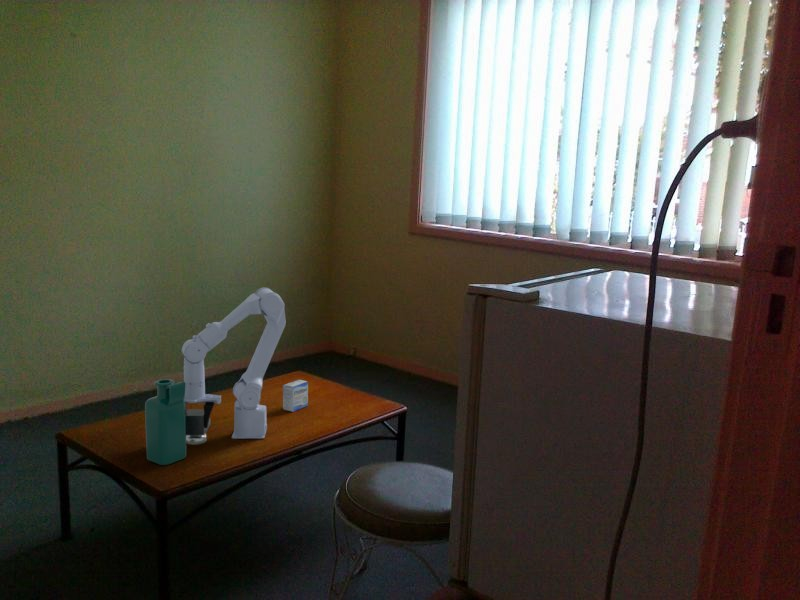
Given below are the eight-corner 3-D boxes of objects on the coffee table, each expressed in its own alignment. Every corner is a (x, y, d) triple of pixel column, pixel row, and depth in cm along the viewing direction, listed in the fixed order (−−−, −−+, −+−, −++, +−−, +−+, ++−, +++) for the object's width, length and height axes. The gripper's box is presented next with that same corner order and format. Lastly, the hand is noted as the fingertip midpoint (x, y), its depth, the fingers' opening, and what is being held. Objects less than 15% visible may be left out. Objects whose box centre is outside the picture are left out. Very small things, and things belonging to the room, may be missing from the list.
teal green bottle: (143, 459, 192) (140, 380, 188) (169, 449, 199) (167, 374, 195) (167, 468, 186) (164, 388, 183) (192, 458, 193) (191, 380, 189)
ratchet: (194, 424, 219) (194, 409, 218) (214, 424, 220) (214, 409, 219) (183, 445, 203) (182, 429, 202) (204, 444, 203) (204, 429, 202)
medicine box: (293, 412, 232) (293, 387, 231) (282, 409, 235) (282, 384, 233) (308, 406, 239) (308, 381, 237) (298, 403, 241) (298, 379, 240)
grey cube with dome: (187, 428, 208) (187, 409, 207) (207, 428, 208) (206, 409, 207) (183, 435, 202) (183, 415, 201) (203, 435, 203) (203, 415, 202)
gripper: (165, 385, 198) (166, 431, 201) (218, 385, 199) (218, 431, 202) (170, 378, 205) (172, 423, 207) (222, 378, 206) (222, 423, 209)
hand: (195, 426), depth 205 cm, fingers closed on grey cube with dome, 5 cm apart
